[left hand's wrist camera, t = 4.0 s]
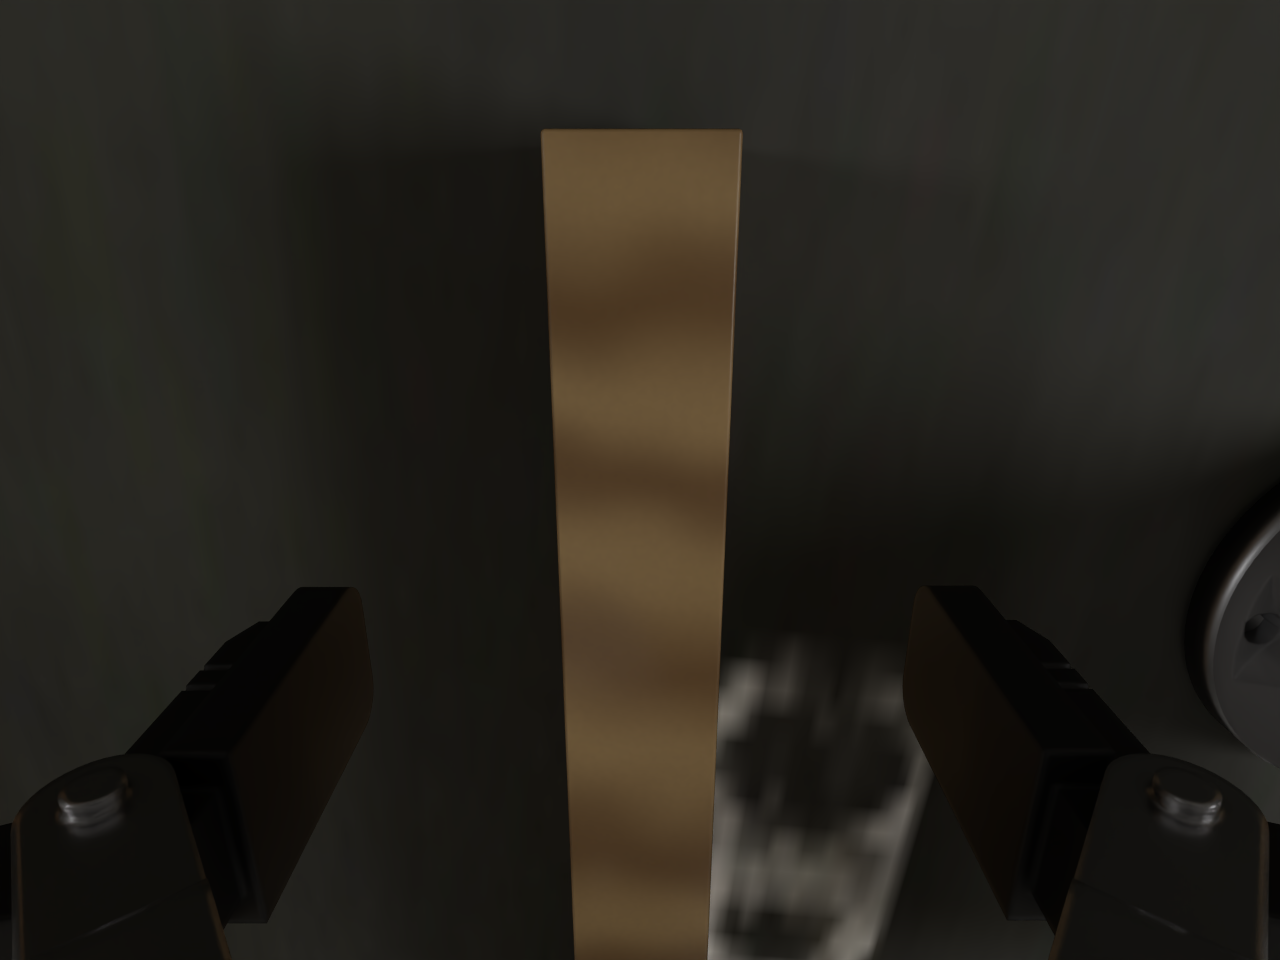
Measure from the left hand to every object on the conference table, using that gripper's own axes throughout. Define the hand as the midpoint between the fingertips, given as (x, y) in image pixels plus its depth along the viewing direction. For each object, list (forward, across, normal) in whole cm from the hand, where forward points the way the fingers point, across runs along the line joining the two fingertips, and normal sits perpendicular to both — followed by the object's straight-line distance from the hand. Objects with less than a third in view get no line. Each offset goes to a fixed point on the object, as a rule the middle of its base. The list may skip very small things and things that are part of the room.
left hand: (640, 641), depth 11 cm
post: (+18, 0, -18) cm, 26 cm away
